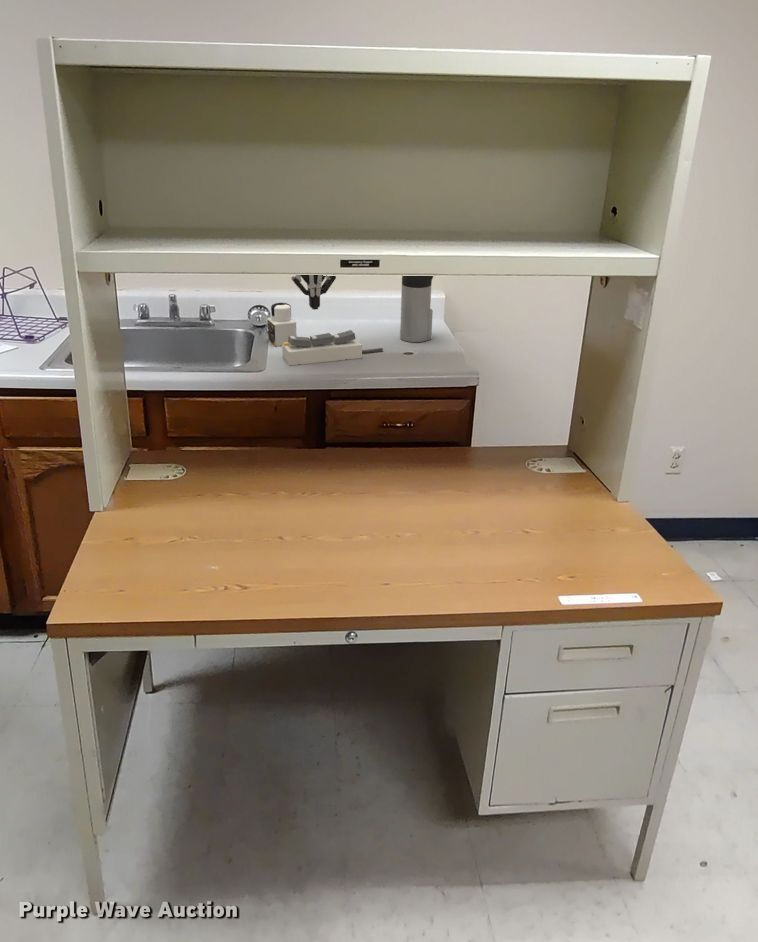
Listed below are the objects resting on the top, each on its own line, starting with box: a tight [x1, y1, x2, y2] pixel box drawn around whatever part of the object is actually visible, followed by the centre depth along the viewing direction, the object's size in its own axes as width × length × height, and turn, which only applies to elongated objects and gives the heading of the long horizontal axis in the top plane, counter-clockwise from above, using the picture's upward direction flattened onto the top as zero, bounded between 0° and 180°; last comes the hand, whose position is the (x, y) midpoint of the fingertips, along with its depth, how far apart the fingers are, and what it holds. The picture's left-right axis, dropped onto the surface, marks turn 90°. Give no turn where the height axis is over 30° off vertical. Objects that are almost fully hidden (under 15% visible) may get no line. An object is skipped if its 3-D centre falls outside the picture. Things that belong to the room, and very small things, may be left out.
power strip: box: [281, 339, 384, 366], centre depth 224 cm, size 30×8×5 cm, turn 111°
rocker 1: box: [288, 335, 312, 347], centre depth 219 cm, size 6×4×2 cm, turn 111°
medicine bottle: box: [267, 302, 298, 347], centre depth 233 cm, size 7×7×12 cm
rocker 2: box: [331, 329, 357, 344], centre depth 223 cm, size 6×4×2 cm, turn 110°
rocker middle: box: [309, 332, 333, 346], centre depth 221 cm, size 6×4×2 cm, turn 111°
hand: (314, 308), depth 216 cm, fingers closed
